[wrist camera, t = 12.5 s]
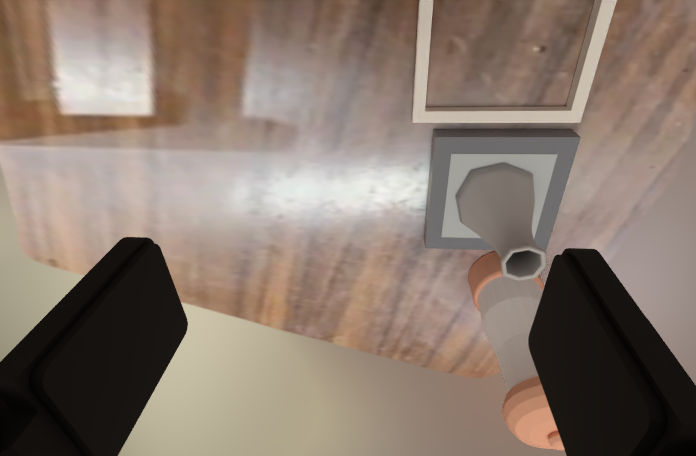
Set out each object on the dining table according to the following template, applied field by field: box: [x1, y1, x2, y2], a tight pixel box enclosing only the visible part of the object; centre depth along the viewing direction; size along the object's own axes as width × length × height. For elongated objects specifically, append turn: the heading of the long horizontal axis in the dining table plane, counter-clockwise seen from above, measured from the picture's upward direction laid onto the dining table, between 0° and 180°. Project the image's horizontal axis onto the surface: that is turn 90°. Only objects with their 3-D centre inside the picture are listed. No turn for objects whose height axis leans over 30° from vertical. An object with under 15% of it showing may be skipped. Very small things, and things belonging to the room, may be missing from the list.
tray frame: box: [412, 0, 617, 123], centre depth 30 cm, size 14×14×1 cm
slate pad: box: [424, 129, 581, 251], centre depth 38 cm, size 12×12×2 cm
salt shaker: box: [468, 251, 565, 450], centre depth 36 cm, size 7×7×19 cm
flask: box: [456, 163, 546, 281], centre depth 33 cm, size 7×7×10 cm
